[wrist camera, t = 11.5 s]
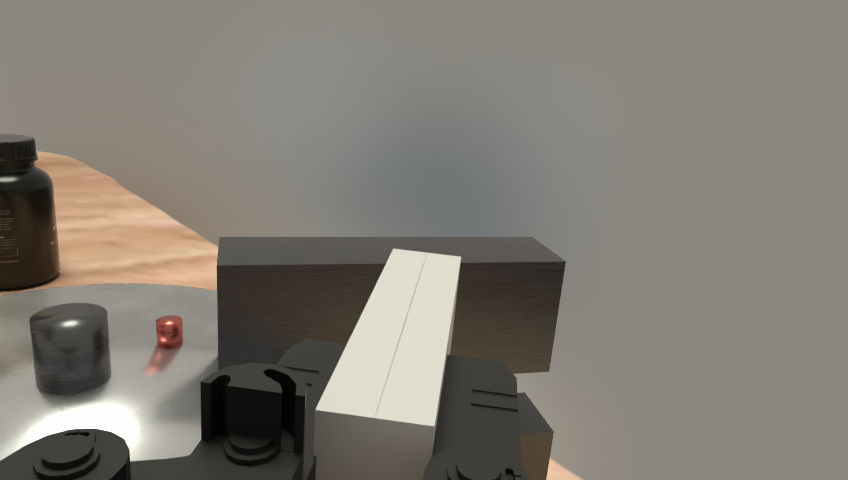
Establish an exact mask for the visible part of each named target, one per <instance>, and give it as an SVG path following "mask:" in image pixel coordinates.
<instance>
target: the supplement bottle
mask: <svg viewBox="0 0 848 480" xmlns="http://www.w3.org/2000/svg"><path fill="white" fill-rule="evenodd" d="M36 160H38V158H37V153H36V148H35V139H34V138H33V137H30V136H23V135H11V134H0V289H17V288H24V287H30V286H34V285H38V284H41V283H44V282H47V281H49V280H51V279H52V278H54V277H55V276H56V275H57V274H58V272H59V269H60V261H59V248H58V237H57V226H56V214H55V203H54V192H53V183H52V180H51V178H50V176H49V175H48V174H47V173H46V172H45V171H43V170H42V169H40V168H38V167H36V166H35V164H34V161H36Z"/></svg>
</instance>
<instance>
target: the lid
mask: <svg viewBox="0 0 848 480" xmlns="http://www.w3.org/2000/svg"><path fill="white" fill-rule="evenodd" d="M393 249H401V250H409V251H417V252H426V253H434V254H442V255H451V256H459V257H461V262H460V271H459V280H458V289H457V297H456V306H455V315H454V324H453V332H452V341H451V350H450V355H453V356H461V357H469V358H476V359H484V360H491V361H499V362H504V363H505V365H506V366H507V367H508V368H509V370H510V371H511V372H512V373H513V374H514V373H531V372H548V371H549V367H550V361H551V355H552V348H553V342H554V335H555V329H556V322H557V315H558V309H559V302H560V296H561V289H562V283H563V275H564V270H565V263H566V262H565V261H564V260H563V259H562V258H560V257H559V256H557V255H556V254H554V253H553V252H552V251H550V250H549V249H548V248H546V247H545V246H544V245H542V244H541V243H540V242H538V241H537V240H536V239H534V238H533V237H220V240H219V249H218V259H217V291H214V290H208V289H202V288H195V287H186V286H176V285H162V284H119V283H118V284H93V285H79V286H67V287H57V288H49V289H41V290H33V291H26V292H20V293H14V294H8V295H2V296H0V461H1V460H2V459H4V458H6V457H7V456H9V455H10V454H12V453H14V452H15V451H17V450H19V449H20V448H22V447H23V446H25V445H27V444H29V443H31V442H33V441H36V440H38V439H40V438H42V437H44V436H46V435H50V434H53V433H57V432H61V431H65V430H69V429H78V428H79V429H82V428H95V429H101V430H107V431H112V432H113V433H115V434H117V435H119V436H120V437H122V438H124V439H125V441H126V443H127V446H128V448H129V450H130V461H142V460H156V459H169V458H176V457H183V456H188V455H190V454H191V453H192V451H193V450H194V449H195V447H196V446H197V445H198V443H199V442H200V440H201V384H200V382H201V381H202V380H204V379H205V378H206V377H208V376H209V375H210V374H212V373H213V372H216V371H218V370H221V369H224V368H226V367H229V366H233V365H240V364H246V363H266V364H274V365H277V364H278V362H279V361H280V359H281V358H282V356H283V355H284V353H285V352H286V350H288V349H289V348H291V347H293V346H294V345H296V344H298V343H300V342H301V341H303V340H305V339H315V340H323V341H330V342H338V343H346V344H347V343H348V341H349V339H350V337H351V335H352V333H353V331H354V329H355V327H356V325H357V323H358V321H359V318H360V316H361V314H362V312H363V310H364V308H365V306H366V304H367V302H368V300H369V298H370V296H371V294H372V292H373V290H374V288H375V285H376V283H377V281H378V279H379V277H380V275H381V273H382V271H383V269H384V267H385V265H386V263H387V261H388V259H389V257H390V254H391V252H392V250H393Z"/></svg>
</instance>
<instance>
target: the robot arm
mask: <svg viewBox="0 0 848 480" xmlns="http://www.w3.org/2000/svg"><path fill="white" fill-rule="evenodd" d="M460 262H461V257H459V256H451V255H442V254H434V253H426V252H417V251H409V250H401V249H393V250H392V252H391V254H390V257H389V259H388V261H387V263H386V265H385V267H384V269H383V271H382V273H381V275H380V277H379V279H378V281H377V283H376V285H375V288H374V290H373V292H372V294H371V296H370V298H369V300H368V302H367V304H366V306H365V308H364V310H363V312H362V314H361V316H360V318H359V321H358V323H357V325H356V327H355V329H354V331H353V333H352V335H351V337H350V339H349V341H348V343H347V344H346V343H338V342H330V341H323V340H315V339H305V340H303V341H301V342H300V343H298V344H296V345H294V346H293V347H291V348H289V349H288V350H286V352H285V353H284V355H283V356H282V358H281V359H280V361H279V362H278V364H277V365H274V364H266V363H246V364H240V365H233V366H229V367H226V368H224V369H221V370H218V371H216V372H213V373H212V374H210V375H209V376H208V377H206V378H205V379H204V380H202V381H201V382H200V384H201V440H200V442H199V443H198V445H197V446H196V447H195V449H194V450H193V451H192V453H191V454H190V455H188V456H183V457H176V458H169V459H156V460H142V461H130V450H129V448H128V446H127V443H126V441H125V439H124V438H122V437H120V436H119V435H117V434H115V433H113V432H112V431H107V430H101V429H95V428H82V429H79V428H78V429H69V430H65V431H61V432H57V433H53V434H50V435H46V436H44V437H42V438H40V439H38V440H36V441H33V442H31V443H29V444H27V445H25V446H23V447H22V448H20V449H19V450H17V451H15V452H14V453H12V454H10V455H9V456H7V457H6V458H4V459H2V460H1V461H0V480H529V479H528V476H527V474H526V472H525V471H524V470H523V469H522V463H521V447H520V430H519V414H518V399H517V382H516V377H515V376H514V375H513V373H512V372H511V371H510V370H509V368H508V367H507V366H506V365H505V363H504V362H499V361H491V360H484V359H476V358H469V357H461V356H453V355H450V350H451V341H452V332H453V324H454V315H455V306H456V297H457V289H458V280H459V271H460Z"/></svg>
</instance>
